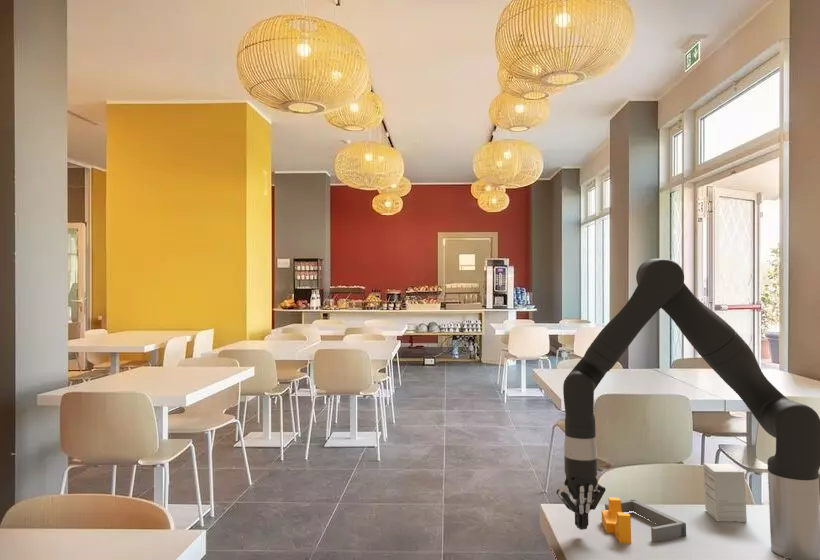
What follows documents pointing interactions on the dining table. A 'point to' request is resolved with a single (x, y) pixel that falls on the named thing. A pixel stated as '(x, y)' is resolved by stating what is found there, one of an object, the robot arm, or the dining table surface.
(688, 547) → the dining table surface
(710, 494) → the supplement box
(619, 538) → the pipe clamp
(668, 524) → the frame
